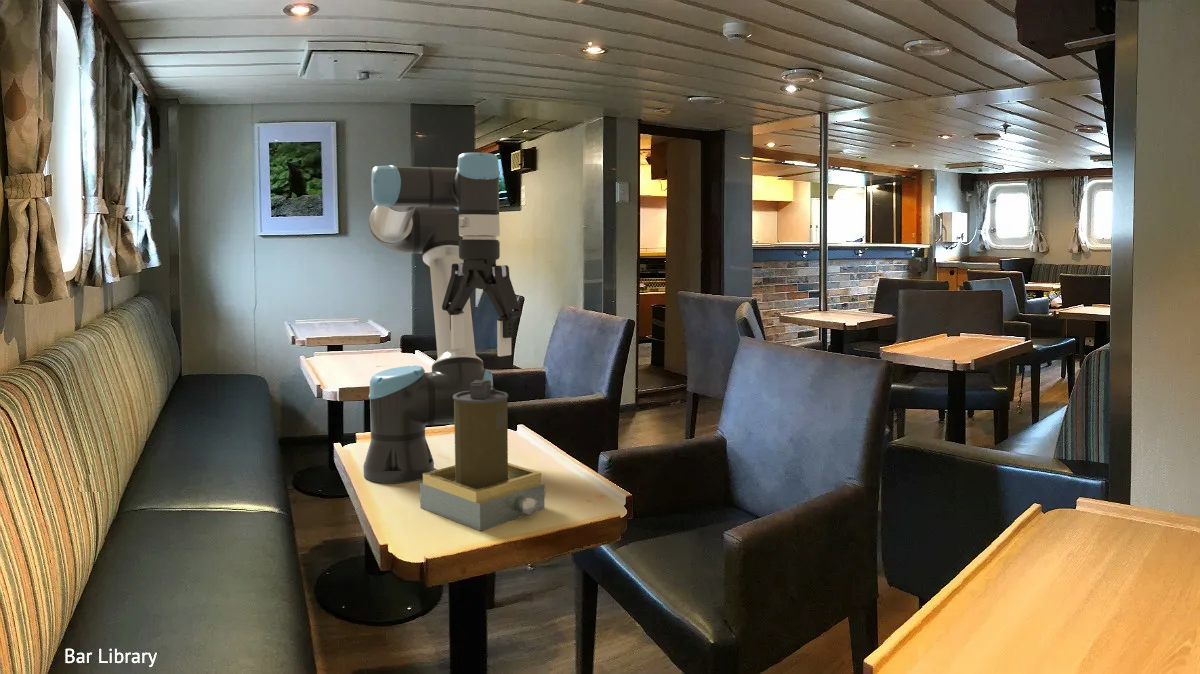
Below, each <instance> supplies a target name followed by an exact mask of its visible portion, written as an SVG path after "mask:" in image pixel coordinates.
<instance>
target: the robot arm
mask: <svg viewBox="0 0 1200 674" xmlns="http://www.w3.org/2000/svg"><path fill="white" fill-rule="evenodd" d="M499 166H500V165H499V158H498V156H497V155H495V154H494V153H490V152H463V153H461V154H459V155H458V156H457V167H432V166H431V167H429V166H428V167H427V166H406V165H405V166H404V165H393V164H389V165H377V166H376V165H375V166H374V167H373V168H372V169H371V176H370V177H371V179H370V180H371V185H370V186H371V199H372V203H373V204H374V205H375V207H374V208H373V209H372V211H371V212H370V214H369V219H368V226H369V227H368V228H369V230H370V233H371V234H372V237H374V239H375V240H376V241H377V242H378V243H379V244H380V245H382V246H384V247H386V248H388V249H389V250H392V251H394V252H398V253H403V254H421V256H422V261H423V263H424V264H425V265H427V266H428V267H429V272H430V283H431V292H432V293H431V295H432V296H431V297H432V304H433V305H432V307H433V318H434V329H435V341H436V353H437V355H436V356H437V358H436V360H435V361H434V362H433V363H432V365H431V372H426V371H425V369H424V367H423V366H421V365H404V366H403V365H402V366H397V367H392V368H387V369H384V370H381V371H379V372H377V373H374V375H372V376H371V378H370V380H369V394H368V399H369V402H370V403H369V409H370V412H369V413H370V418H369V419H370V442H369V446H368V448H367V452H366V457H365V461H364V463H363V467H362V468H363V477H364V479H366V480H369V481H370V482H376V483H383V484H384V483H385V484H395V483H396V484H398V483H407V482H409V483H410V482H415V481H419V480H423V473H427V472H431V471H435V461H434V458H433V455H432V453H431V450H430V447H429V444H428V441H427V439H426V426H430V425H431V426H432V425H447V424H450V425H451V424H454V399H453V395H454V394H456V393H458V392H463V391H470V383H472V382H473V381H474V380H490V381H491V386H493V387H494V381H493V378H494V377H493V372H492V370H490V369H488V368H484V361H483V359H481V357H479V356H477V355H476V346H475V335H474V326H473V318H472V317H473V316H472V308H471V298H470V297H471V295H472V293H473V291H474V290H476V289H478V290H482V291H484V292H485V293H486V294H487V296H488V297H489V300H490V302H491V303H492V306H493V307H494V309H495V311H496V313H497V315H498V319H497V320H496V322H497V323H496V327H497V328H496V330H497V331H496V337H497V344H496V345H497V347H496V348H497V357H506V356H511V355H512V338H513V335H514V320H515V319H516V318H520V317H521V316H522V310H521V308H520V304H519V301H518V298H517V296H516V292H515V290H514V287H513V284H512V281H511V278H510V267H509V265H507V264H505V265H497V261H498V260H499V259H500V256H501V255H500V253H501V251H500V247H501V246H500V245H501V241H499V239H497V237H499V236H500V234H501V233H500V232H501V229H500V225H501V223H500V222H501V221H500V175H501V172H500V167H499ZM491 388H492V387H491Z"/></svg>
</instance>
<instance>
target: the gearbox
mask: <svg viewBox="0 0 1200 674" xmlns="http://www.w3.org/2000/svg"><path fill="white" fill-rule="evenodd" d="M508 479H509V480H507V481H504V482H501V483H497V484H494V485H490V486H487V487H484V488H480V489H474V488H471V487H468V486H465V485H462V484H459V483H456V482H455V480H456V479H455V464H454V465H450V466H446V467H444V468H443V467H442V468H439V469H436V470H435V469H434V471H431V472H427V473H423V479H422V482H419V494H420V495H419V501H420V502H419V503H420V505H419V506H420V508H421V509H423V510H426V511H428V512H431V513H434V514H435V515H438V516H440V517H444V518H446V519H447V520H452V521H453V522H455V523H459V524H461V525H462V526H463V525H464V526H466V527H469V528H472V529H474V530H477V531H479V532H482V531H485V530H488V529H490V528H493V527H496V526H499V525H502V524H505V523H508V522H510V521H513V520H517V519H519V518H522V517H525V516H531V517H532V516H534V515H536V514H537V512H540V511H542V510H545V509H546V508H545V507H546V506H545V505H546V503H545V497H546V494H545V493H546V491H545V490H546V489H545V488H546V487H545V486H546V484H545V483H543V482H542V472H540V471H537V470H533V469H530V468H527V467H523V466H521V465H516V464H514V463H510V462H508Z"/></svg>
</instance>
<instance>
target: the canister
mask: <svg viewBox="0 0 1200 674" xmlns="http://www.w3.org/2000/svg"><path fill="white" fill-rule="evenodd" d="M491 387H492V388H491ZM508 398H509V394H508V393H507V392H506V391H501V390H497V389H496V388H495V387H494V385H493V386H491V381H490V380H474V381H473V382H472V383H470V391H463V392H458V393H456V394H454V395H453V399H454V423H453V424H454V425H453V426H454V465H455V479H456V480H455V482H456V483H459V484H462V485H465V486H468V487H471V488H474V489H480V488H484V487H487V486H490V485H494V484H497V483H501V482H504V481H507V480H509V479H508V463H509V457H508V456H509V452H508V451H509V447H508V446H509V445H508V444H509V443H508V441H509V439H508V436H509V435H508V430H509V429H508Z"/></svg>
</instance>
